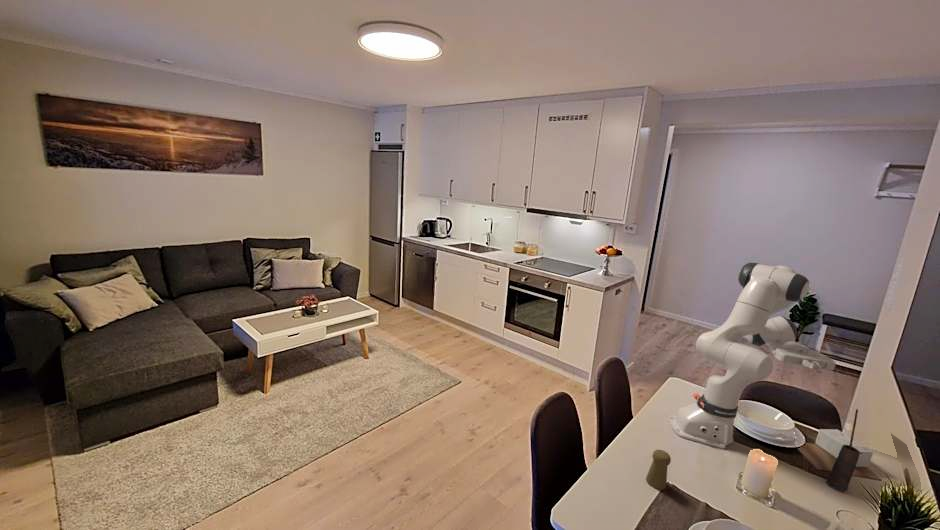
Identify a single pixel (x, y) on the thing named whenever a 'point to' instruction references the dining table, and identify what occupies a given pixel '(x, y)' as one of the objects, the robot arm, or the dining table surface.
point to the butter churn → (844, 465)
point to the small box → (836, 439)
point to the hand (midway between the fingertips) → (816, 367)
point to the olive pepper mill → (658, 470)
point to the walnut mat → (830, 461)
